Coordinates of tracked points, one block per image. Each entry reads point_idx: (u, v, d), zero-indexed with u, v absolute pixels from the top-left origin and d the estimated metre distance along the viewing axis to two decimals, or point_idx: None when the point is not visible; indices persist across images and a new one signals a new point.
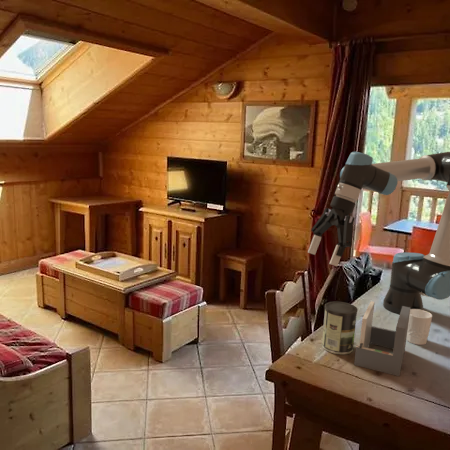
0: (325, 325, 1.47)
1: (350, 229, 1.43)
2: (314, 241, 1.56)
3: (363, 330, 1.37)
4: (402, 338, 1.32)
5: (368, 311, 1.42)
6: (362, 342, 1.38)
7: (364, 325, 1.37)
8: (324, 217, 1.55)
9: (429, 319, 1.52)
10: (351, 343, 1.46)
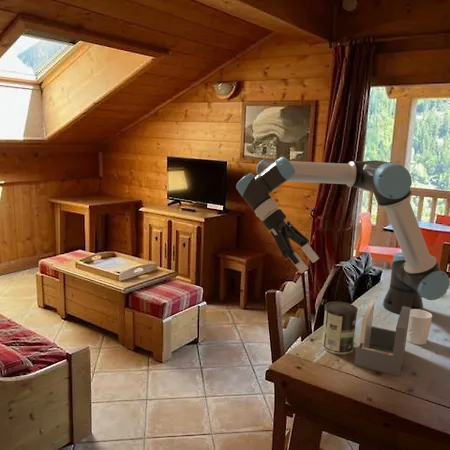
0: (325, 325, 1.47)
1: (280, 239, 1.44)
2: (306, 252, 1.56)
3: (363, 330, 1.37)
4: (402, 338, 1.32)
5: (368, 311, 1.42)
6: (362, 342, 1.38)
7: (364, 325, 1.37)
8: None
9: (429, 319, 1.52)
10: (351, 343, 1.46)
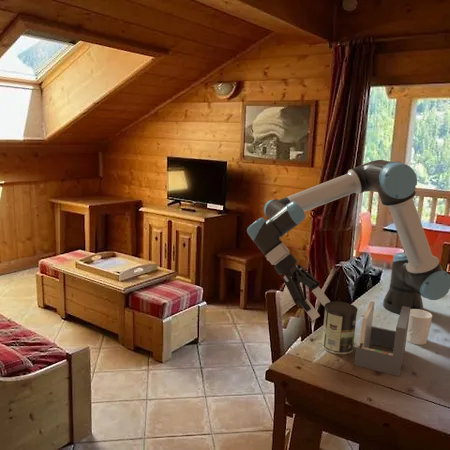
0: (325, 325, 1.47)
1: (291, 286, 1.45)
2: (317, 295, 1.56)
3: (363, 330, 1.37)
4: (402, 338, 1.32)
5: (368, 311, 1.42)
6: (362, 342, 1.38)
7: (364, 325, 1.37)
8: None
9: (429, 319, 1.52)
10: (351, 343, 1.46)
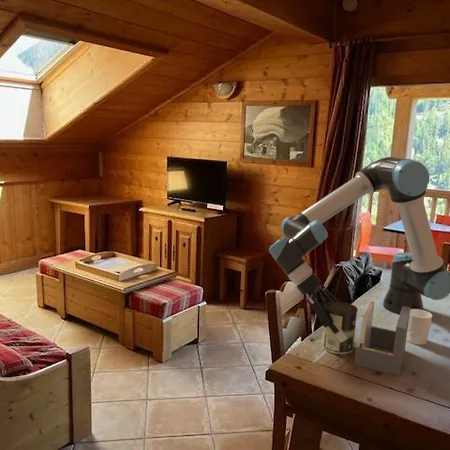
0: None
1: (318, 308, 1.43)
2: None
3: (363, 330, 1.37)
4: (402, 338, 1.32)
5: (368, 311, 1.42)
6: (362, 342, 1.38)
7: (364, 325, 1.37)
8: None
9: (429, 319, 1.52)
10: (351, 343, 1.46)
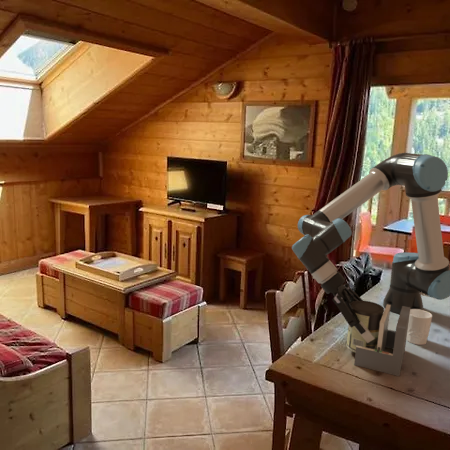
0: None
1: (344, 308, 1.40)
2: None
3: (380, 334, 1.35)
4: (402, 338, 1.32)
5: (385, 314, 1.40)
6: (379, 346, 1.36)
7: (382, 329, 1.35)
8: None
9: (429, 319, 1.52)
10: None
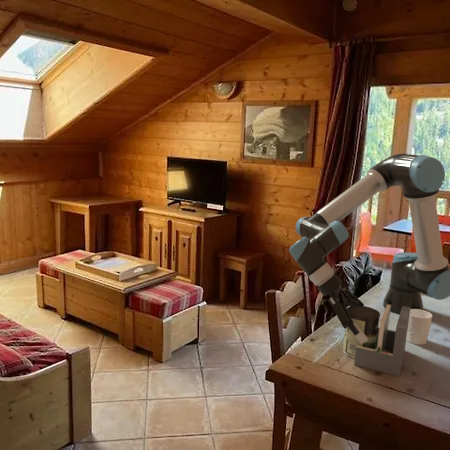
0: (347, 330, 1.45)
1: (338, 309, 1.40)
2: None
3: (381, 334, 1.35)
4: (402, 338, 1.32)
5: (385, 314, 1.40)
6: (380, 346, 1.36)
7: (382, 329, 1.35)
8: None
9: (429, 319, 1.52)
10: (374, 349, 1.43)
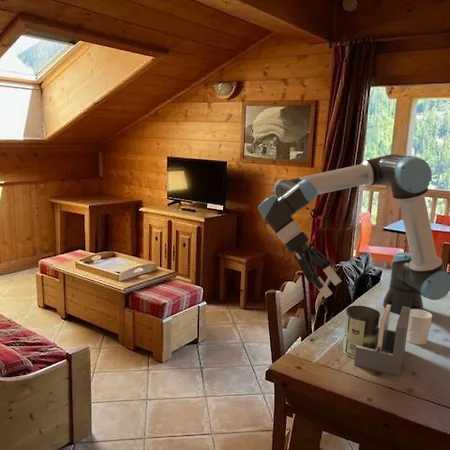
0: (347, 330, 1.45)
1: (304, 263, 1.43)
2: (328, 274, 1.55)
3: (381, 334, 1.35)
4: (402, 338, 1.32)
5: (385, 314, 1.40)
6: (380, 346, 1.36)
7: (382, 329, 1.35)
8: None
9: (429, 319, 1.52)
10: (374, 349, 1.43)
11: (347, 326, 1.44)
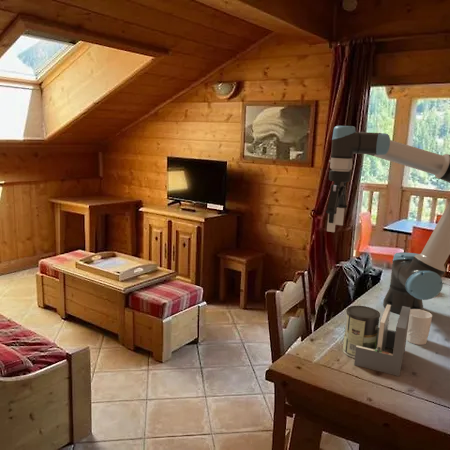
0: (347, 330, 1.45)
1: (334, 197, 1.57)
2: (337, 213, 1.72)
3: (381, 334, 1.35)
4: (402, 338, 1.32)
5: (385, 314, 1.40)
6: (380, 346, 1.36)
7: (382, 329, 1.35)
8: None
9: (429, 319, 1.52)
10: (374, 349, 1.43)
11: (347, 326, 1.44)
